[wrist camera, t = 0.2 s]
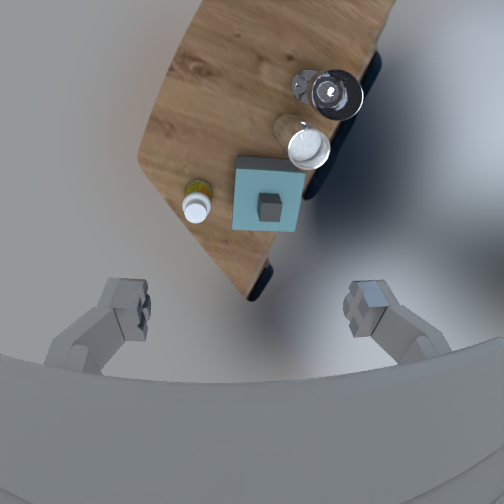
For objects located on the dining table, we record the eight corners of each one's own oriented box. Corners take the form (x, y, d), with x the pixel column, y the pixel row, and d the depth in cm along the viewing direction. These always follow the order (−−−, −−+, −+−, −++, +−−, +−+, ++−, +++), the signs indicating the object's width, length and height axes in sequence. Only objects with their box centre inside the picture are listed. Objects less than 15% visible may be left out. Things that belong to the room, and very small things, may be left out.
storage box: (236, 155, 55) (238, 169, 49) (291, 159, 56) (300, 173, 50) (232, 205, 61) (234, 224, 55) (283, 207, 63) (291, 226, 56)
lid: (236, 166, 48) (237, 177, 44) (304, 171, 50) (311, 182, 46) (231, 226, 55) (232, 241, 51) (293, 228, 57) (299, 243, 53)
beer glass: (263, 131, 52) (276, 153, 40) (286, 104, 50) (307, 117, 38) (290, 151, 55) (310, 179, 43) (312, 126, 52) (340, 147, 40)
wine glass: (336, 81, 47) (372, 89, 35) (316, 113, 51) (345, 130, 39) (302, 59, 44) (329, 58, 32) (281, 93, 48) (301, 102, 36)
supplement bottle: (199, 174, 56) (196, 194, 49) (217, 192, 59) (216, 214, 51) (180, 190, 58) (174, 212, 50) (198, 207, 61) (194, 231, 53)
